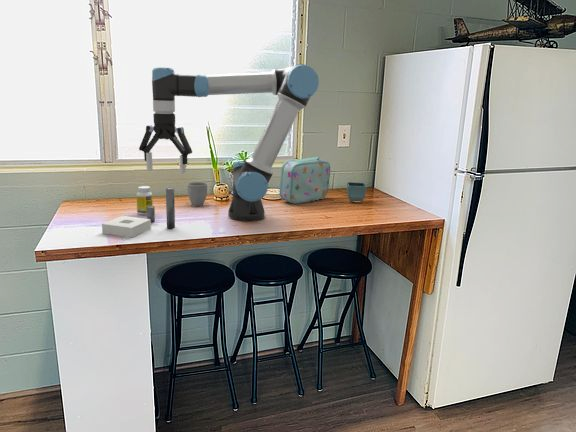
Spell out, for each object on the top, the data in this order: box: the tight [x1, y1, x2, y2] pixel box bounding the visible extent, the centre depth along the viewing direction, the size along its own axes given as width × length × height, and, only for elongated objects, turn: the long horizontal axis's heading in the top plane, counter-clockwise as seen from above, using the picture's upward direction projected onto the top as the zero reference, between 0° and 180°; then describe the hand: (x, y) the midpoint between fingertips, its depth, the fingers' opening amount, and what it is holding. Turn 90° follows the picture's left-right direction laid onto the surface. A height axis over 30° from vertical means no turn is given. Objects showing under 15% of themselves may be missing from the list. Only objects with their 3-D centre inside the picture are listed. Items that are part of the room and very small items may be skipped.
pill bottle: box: [136, 185, 154, 216], centre depth 194 cm, size 6×6×11 cm
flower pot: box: [346, 181, 368, 202], centre depth 230 cm, size 9×9×9 cm
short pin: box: [146, 205, 156, 224], centre depth 183 cm, size 3×3×6 cm
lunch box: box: [279, 156, 331, 205], centre depth 227 cm, size 27×10×21 cm, turn 133°
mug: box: [186, 181, 208, 207], centre depth 213 cm, size 12×9×10 cm
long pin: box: [165, 187, 176, 230], centre depth 175 cm, size 3×3×15 cm
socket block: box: [101, 215, 152, 238], centre depth 170 cm, size 12×12×4 cm
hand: (166, 171), depth 173 cm, fingers open, 13 cm apart
